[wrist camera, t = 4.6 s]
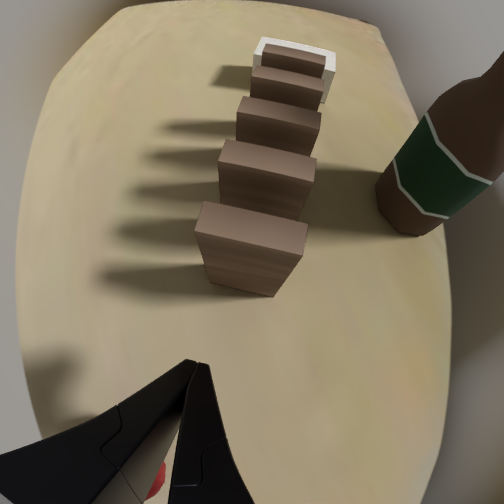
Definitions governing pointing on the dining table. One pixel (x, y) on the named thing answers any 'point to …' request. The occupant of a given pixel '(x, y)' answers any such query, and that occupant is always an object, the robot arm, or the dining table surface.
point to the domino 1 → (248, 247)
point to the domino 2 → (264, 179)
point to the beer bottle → (447, 155)
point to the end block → (330, 56)
